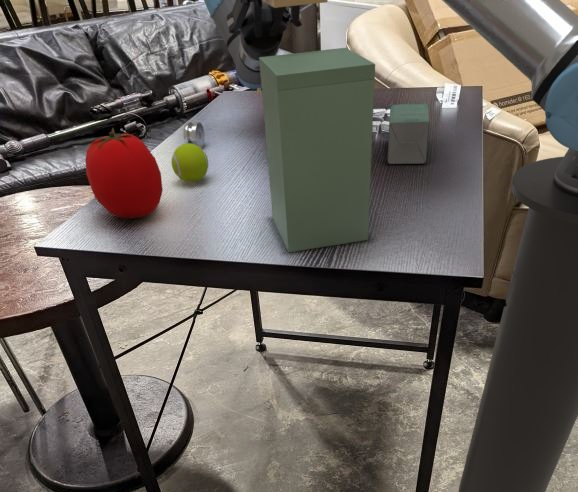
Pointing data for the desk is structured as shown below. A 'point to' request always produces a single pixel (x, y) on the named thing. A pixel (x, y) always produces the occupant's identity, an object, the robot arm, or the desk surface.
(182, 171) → the tennis ball
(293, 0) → the tan wooden slab
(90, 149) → the tomato
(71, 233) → the desk surface
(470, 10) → the robot arm
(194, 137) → the grooved metal pulley
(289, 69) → the stand
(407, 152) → the box
